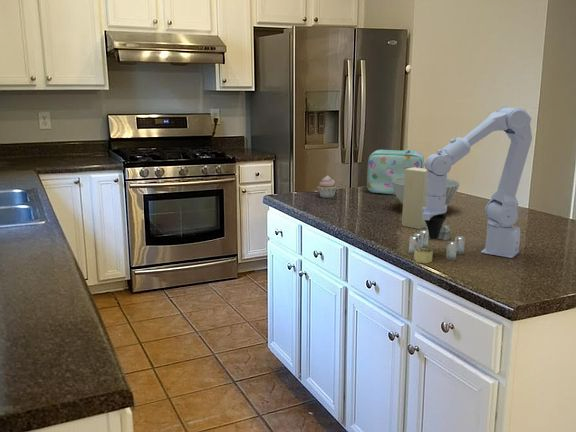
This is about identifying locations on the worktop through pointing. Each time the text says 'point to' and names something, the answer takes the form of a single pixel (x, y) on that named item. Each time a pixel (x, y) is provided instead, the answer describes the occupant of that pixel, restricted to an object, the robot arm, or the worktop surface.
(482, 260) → the worktop surface
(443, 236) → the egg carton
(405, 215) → the beige rectangular block
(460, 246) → the cylinder
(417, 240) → the cylinder
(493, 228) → the robot arm
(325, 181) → the cupcake
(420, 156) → the lunch box
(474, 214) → the worktop surface
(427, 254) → the nut
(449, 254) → the cylinder
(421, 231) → the cylinder
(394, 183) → the decorative bowl
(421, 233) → the cylinder
